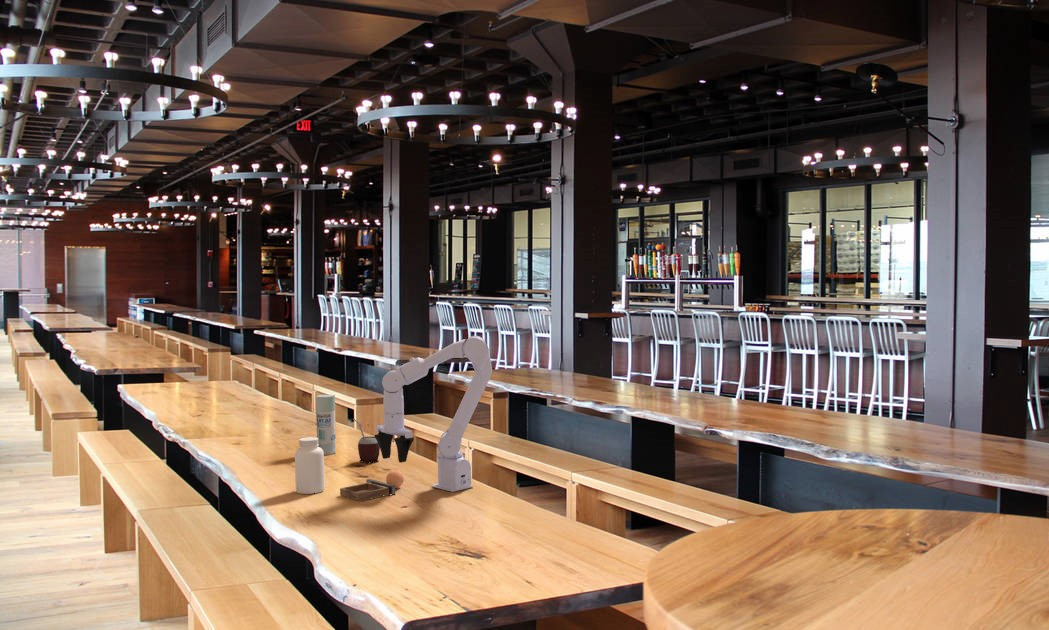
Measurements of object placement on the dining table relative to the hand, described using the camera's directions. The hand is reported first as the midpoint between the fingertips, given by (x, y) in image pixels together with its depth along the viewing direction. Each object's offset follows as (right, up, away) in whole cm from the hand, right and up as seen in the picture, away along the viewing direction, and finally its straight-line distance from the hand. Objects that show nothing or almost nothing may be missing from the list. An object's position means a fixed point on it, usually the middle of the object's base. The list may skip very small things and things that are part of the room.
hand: (394, 460), depth 248 cm
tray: (-7, -9, -8) cm, 13 cm away
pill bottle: (-24, -9, -2) cm, 25 cm away
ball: (0, -8, 0) cm, 8 cm away
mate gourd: (-14, -7, +36) cm, 39 cm away
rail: (-3, -8, -3) cm, 9 cm away
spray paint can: (-31, -6, +51) cm, 60 cm away
